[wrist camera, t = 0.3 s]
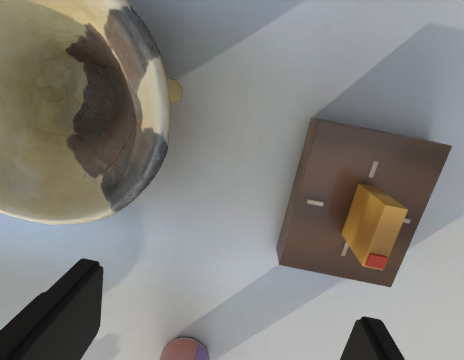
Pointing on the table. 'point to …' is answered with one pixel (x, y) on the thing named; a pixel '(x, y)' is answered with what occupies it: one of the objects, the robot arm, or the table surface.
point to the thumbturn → (373, 225)
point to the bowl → (78, 109)
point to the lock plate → (343, 190)
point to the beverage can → (184, 350)
